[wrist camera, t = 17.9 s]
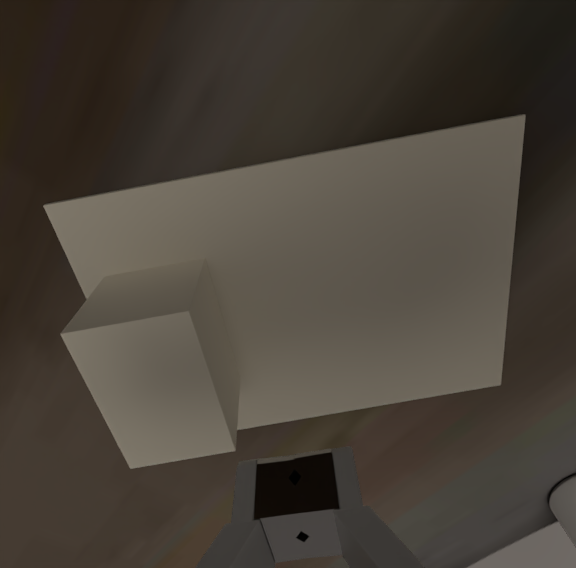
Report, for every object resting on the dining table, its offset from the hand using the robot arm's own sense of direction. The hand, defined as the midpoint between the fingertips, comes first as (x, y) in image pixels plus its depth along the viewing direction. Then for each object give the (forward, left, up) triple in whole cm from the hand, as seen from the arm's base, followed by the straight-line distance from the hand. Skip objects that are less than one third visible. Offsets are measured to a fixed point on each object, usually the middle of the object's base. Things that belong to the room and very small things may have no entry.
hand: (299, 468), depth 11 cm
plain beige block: (+8, +5, -10) cm, 14 cm away
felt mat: (-1, +5, -17) cm, 18 cm away
